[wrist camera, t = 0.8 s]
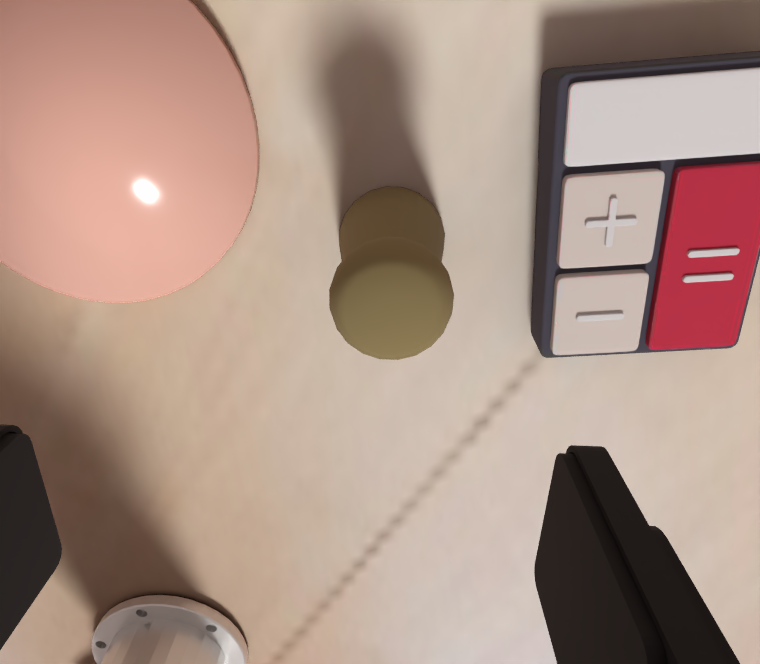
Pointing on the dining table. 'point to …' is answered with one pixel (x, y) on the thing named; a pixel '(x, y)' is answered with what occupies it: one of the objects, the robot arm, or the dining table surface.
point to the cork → (391, 275)
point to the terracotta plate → (120, 146)
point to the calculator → (647, 205)
